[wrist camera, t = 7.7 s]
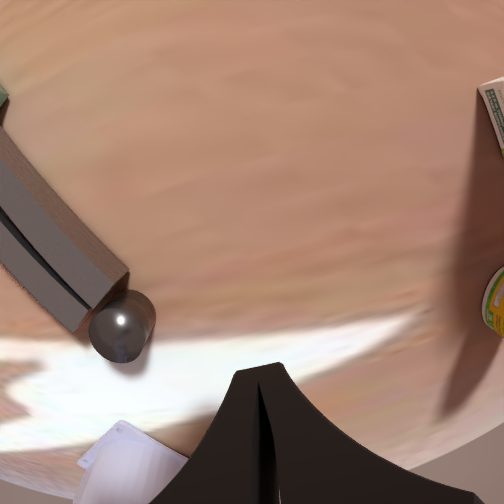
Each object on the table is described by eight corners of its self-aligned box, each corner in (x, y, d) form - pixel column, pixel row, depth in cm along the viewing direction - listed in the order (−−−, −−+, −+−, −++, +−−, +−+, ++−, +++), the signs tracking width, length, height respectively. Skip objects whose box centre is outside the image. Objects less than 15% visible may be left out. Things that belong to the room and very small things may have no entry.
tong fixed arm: (119, 366, 19) (103, 395, 16) (-67, 163, 14) (-93, 166, 11) (165, 312, 18) (153, 339, 15) (-40, 103, 14) (-67, 99, 10)
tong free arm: (149, 246, 17) (135, 258, 14) (109, 292, 17) (93, 309, 15) (-17, 61, 13) (-38, 54, 10) (-44, 105, 13) (-65, 102, 11)
